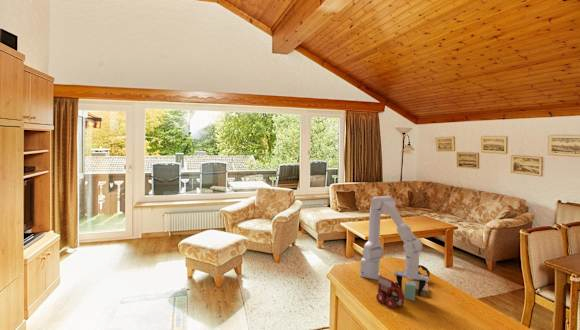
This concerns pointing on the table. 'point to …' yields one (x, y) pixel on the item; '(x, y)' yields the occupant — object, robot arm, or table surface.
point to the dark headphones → (425, 270)
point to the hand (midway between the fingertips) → (409, 293)
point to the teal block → (410, 291)
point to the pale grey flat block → (424, 290)
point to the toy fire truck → (389, 292)
